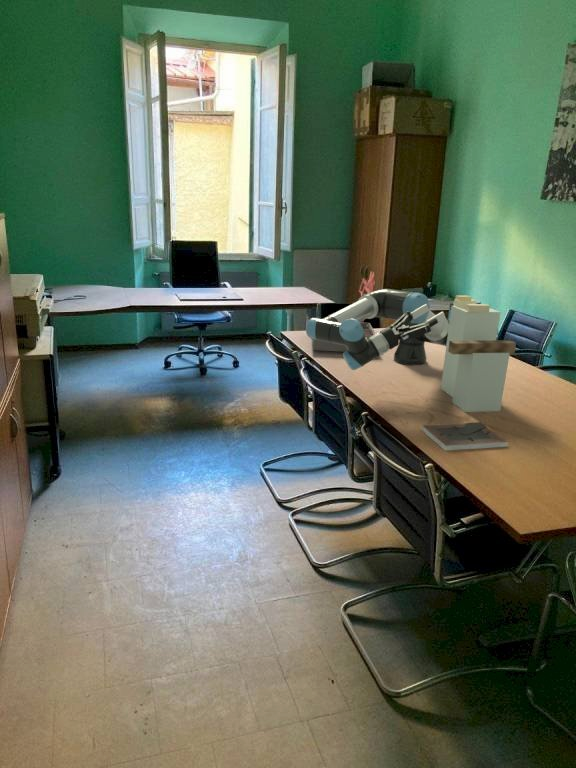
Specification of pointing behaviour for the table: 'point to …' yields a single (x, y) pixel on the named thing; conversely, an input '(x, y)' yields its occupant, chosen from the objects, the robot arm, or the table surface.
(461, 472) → the table surface
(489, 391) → the pale grey rectangular block
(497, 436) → the picture frame
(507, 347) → the walnut batten
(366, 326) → the organizer tray
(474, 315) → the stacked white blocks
